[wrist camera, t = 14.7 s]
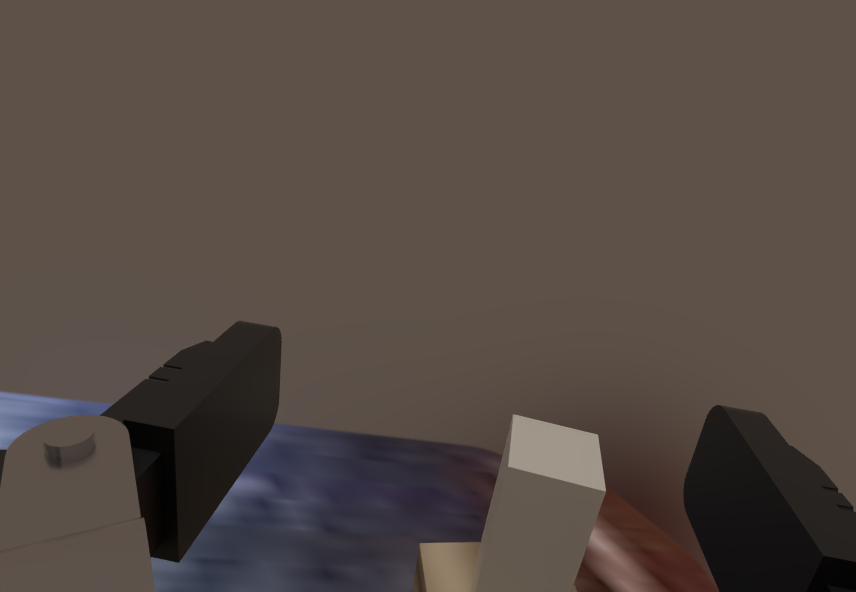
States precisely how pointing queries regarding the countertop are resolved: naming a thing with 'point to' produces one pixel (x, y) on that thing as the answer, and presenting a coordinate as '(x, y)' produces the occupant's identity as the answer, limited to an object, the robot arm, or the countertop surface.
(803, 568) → the robot arm
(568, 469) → the cream block
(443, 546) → the beech block
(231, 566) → the countertop surface
